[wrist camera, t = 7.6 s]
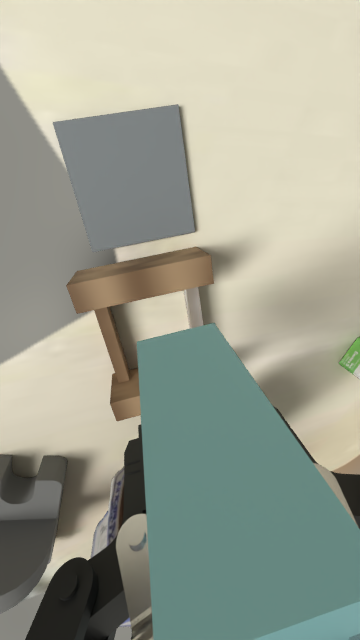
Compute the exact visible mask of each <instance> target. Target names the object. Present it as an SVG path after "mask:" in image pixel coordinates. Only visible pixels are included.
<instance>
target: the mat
mask: <svg viewBox="0 0 360 640" xmlns="http://www.w3.org/2000/svg"><path fill="white" fill-rule="evenodd" d="M53 125H54V128H55V132H56V135H57V138H58V141H59V145H60V148H61V151H62V154H63V158H64V161H65V164H66V167H67V171H68V174H69V177H70V180H71V184H72V187H73V190H74V194H75V197H76V200H77V203H78V207H79V210H80V213H81V216H82V220H83V223H84V226H85V229H86V233H87V236H88V239H89V242H90V246H91V249H92V252H96V251H101V250H106V249H111V248H116V247H122V246H127V245H132V244H137V243H142V242H147V241H152V240H157V239H162V238H167V237H172V236H177V235H182V234H187V233H192V232H195V228H194V220H193V213H192V205H191V197H190V190H189V182H188V175H187V167H186V159H185V152H184V144H183V137H182V129H181V121H180V114H179V106H178V105H171V106H163V107H156V108H149V109H142V110H135V111H128V112H121V113H114V114H107V115H100V116H93V117H86V118H79V119H72V120H65V121H58V122H53Z"/></svg>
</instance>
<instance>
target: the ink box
mask: <svg viewBox="0 0 360 640" xmlns="http://www.w3.org/2000/svg"><path fill="white" fill-rule="evenodd" d="M339 364H340V365H341V366H342V367H344V368H345V369H347V370H348V371H349V372H351V373H352V374H353V375H355V376H356V377H357V378H359V379H360V337H358V338H357V339H356V340H355V342H354V343H353V345H352V346H351V347H350V349H349V350H348V351H347V353H346V354H345V355H344V357H343V358H342V360H341V361H340V362H339Z"/></svg>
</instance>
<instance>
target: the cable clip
mask: <svg viewBox="0 0 360 640" xmlns="http://www.w3.org/2000/svg"><path fill="white" fill-rule="evenodd" d="M66 468H67V459H66V458H64V457H62V456H43V459H42V462H41V465H40V468H39V471H38V474H37V476H35V477H31V478H21V477H18V476H16V475H15V474H14V473H13V472H12V455H0V614H1V613H3V612H5V611H7V610H8V609H10V608H12V607H14V606H16V605H17V604H18V603H19V602H20V601H22V600H23V599H24V598H25V597H26V596H27V595H29V593H30V592H31V591H32V590H33V588H34V587H35V586H36V585H37V584H38V582H39V580H40V579H41V577H42V575H43V573H44V571H45V570H46V567H47V564H49V563H50V561H51V556H52V552H53V547H54V542H55V538H56V532H57V526H58V520H59V513H60V507H61V500H62V494H63V487H64V481H65V475H66Z"/></svg>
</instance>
